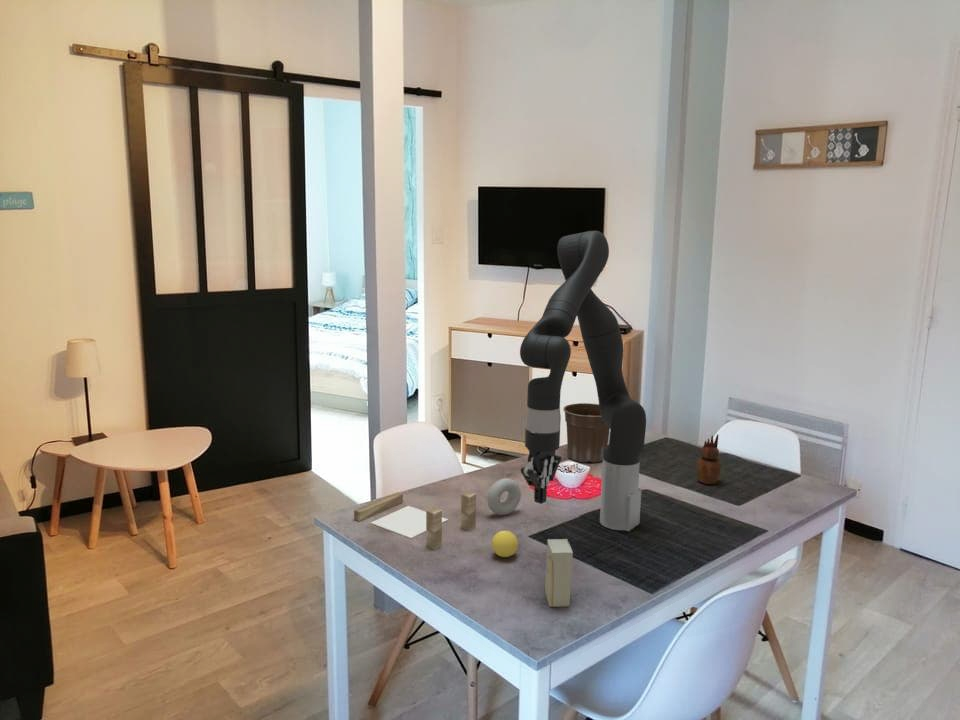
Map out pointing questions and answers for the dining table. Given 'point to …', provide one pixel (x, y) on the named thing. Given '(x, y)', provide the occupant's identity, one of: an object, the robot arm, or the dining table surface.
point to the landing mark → (405, 522)
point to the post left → (434, 528)
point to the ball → (504, 543)
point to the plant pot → (585, 432)
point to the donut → (498, 490)
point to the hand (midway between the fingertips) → (540, 502)
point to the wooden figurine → (709, 463)
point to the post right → (468, 511)
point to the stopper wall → (378, 506)
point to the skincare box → (558, 572)
